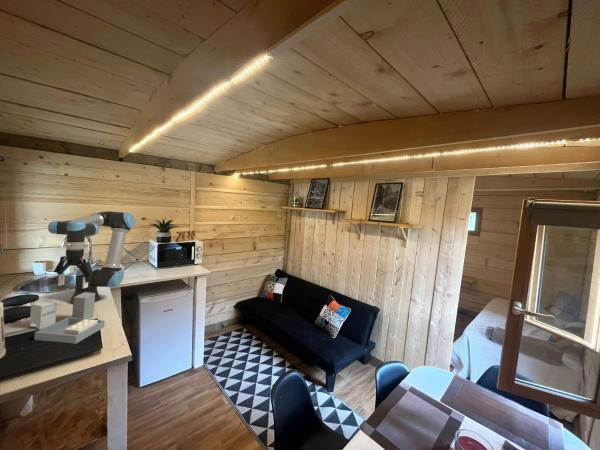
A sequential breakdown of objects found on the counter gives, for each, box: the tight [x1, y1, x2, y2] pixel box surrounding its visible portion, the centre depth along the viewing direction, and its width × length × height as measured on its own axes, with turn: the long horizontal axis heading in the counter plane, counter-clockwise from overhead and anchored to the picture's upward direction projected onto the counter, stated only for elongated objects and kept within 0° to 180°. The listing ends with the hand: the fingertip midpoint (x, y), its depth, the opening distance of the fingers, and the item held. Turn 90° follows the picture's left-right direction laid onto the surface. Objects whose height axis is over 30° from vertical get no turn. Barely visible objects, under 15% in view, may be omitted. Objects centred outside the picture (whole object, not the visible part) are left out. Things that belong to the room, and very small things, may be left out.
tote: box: [33, 316, 105, 345], centre depth 130 cm, size 18×20×4 cm
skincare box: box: [71, 292, 95, 319], centre depth 145 cm, size 8×7×16 cm
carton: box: [64, 319, 99, 335], centre depth 130 cm, size 12×7×6 cm, turn 1°
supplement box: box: [29, 300, 58, 330], centre depth 136 cm, size 7×7×13 cm
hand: (73, 286), depth 139 cm, fingers open, 13 cm apart
